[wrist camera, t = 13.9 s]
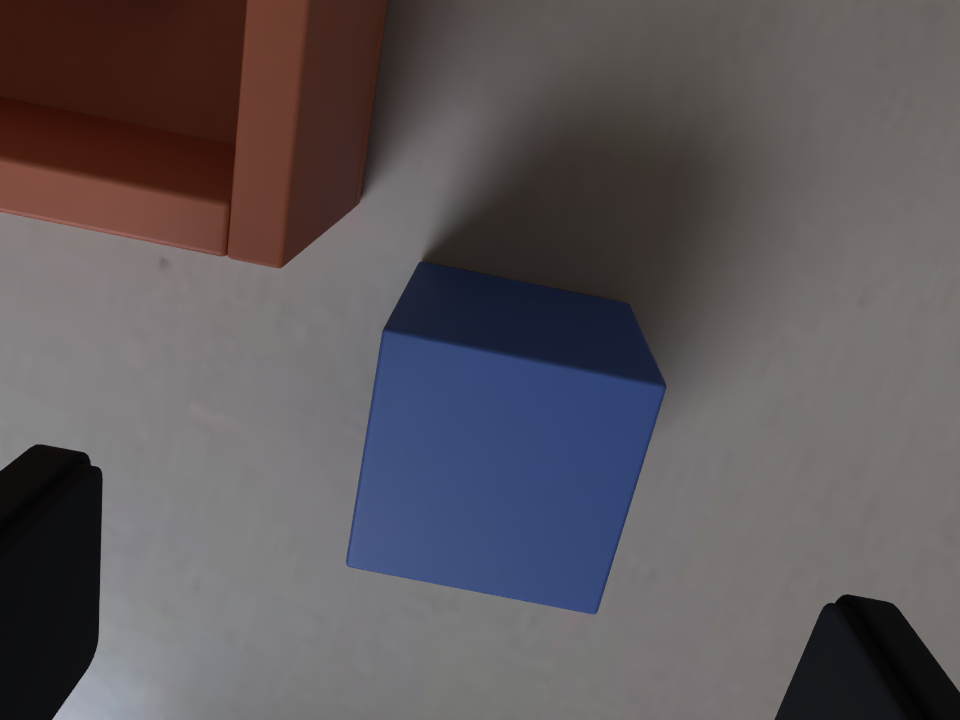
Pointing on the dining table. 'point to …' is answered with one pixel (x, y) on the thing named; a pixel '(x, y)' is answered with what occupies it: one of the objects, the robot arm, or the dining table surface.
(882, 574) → the dining table surface
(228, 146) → the terracotta bin
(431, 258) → the dining table surface
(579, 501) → the blue block
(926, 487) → the dining table surface
